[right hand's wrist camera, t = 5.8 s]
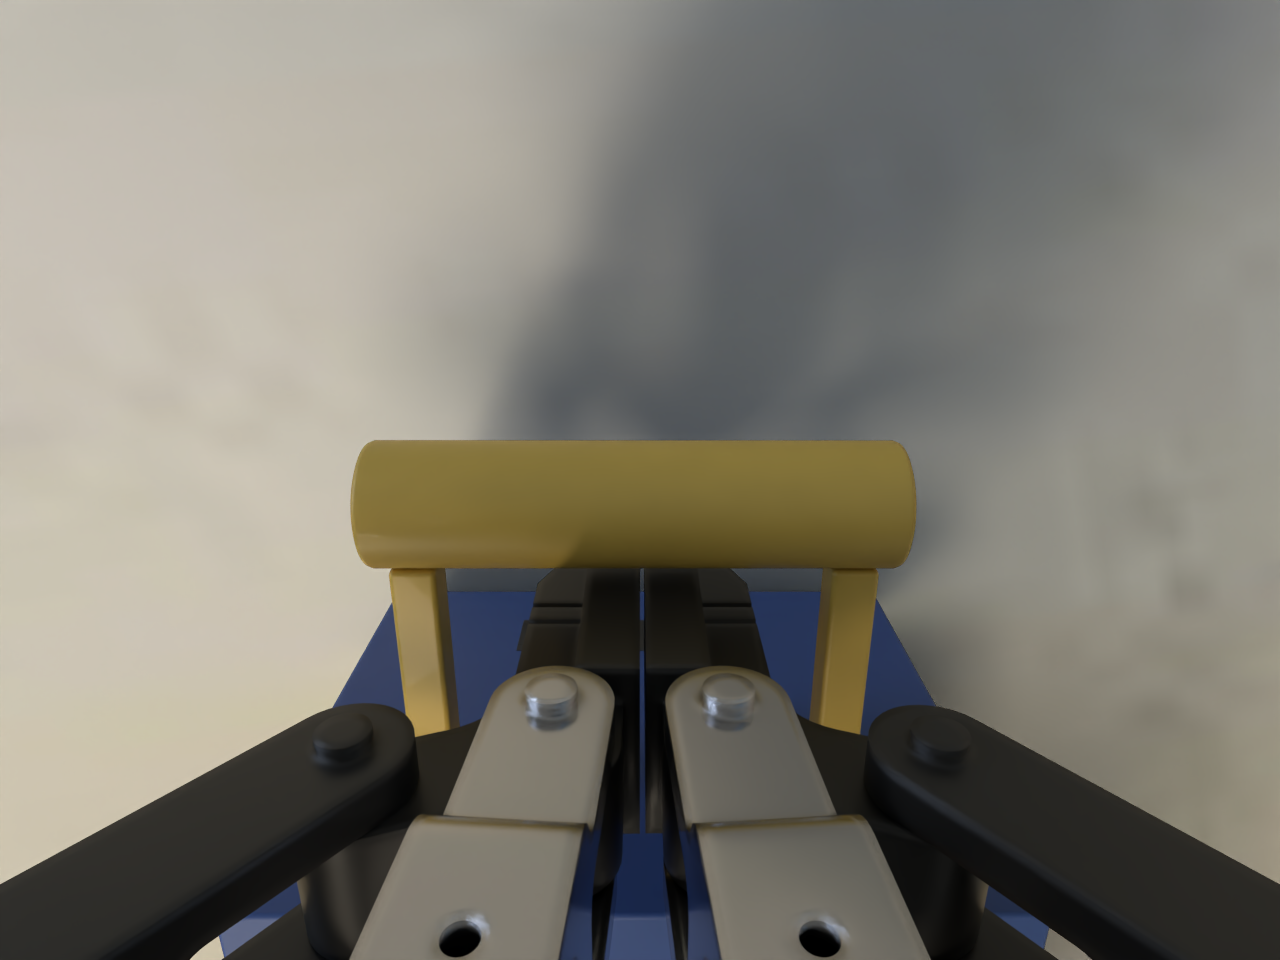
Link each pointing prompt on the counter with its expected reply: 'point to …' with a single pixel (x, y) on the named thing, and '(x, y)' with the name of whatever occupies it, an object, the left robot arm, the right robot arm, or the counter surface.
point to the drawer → (640, 538)
